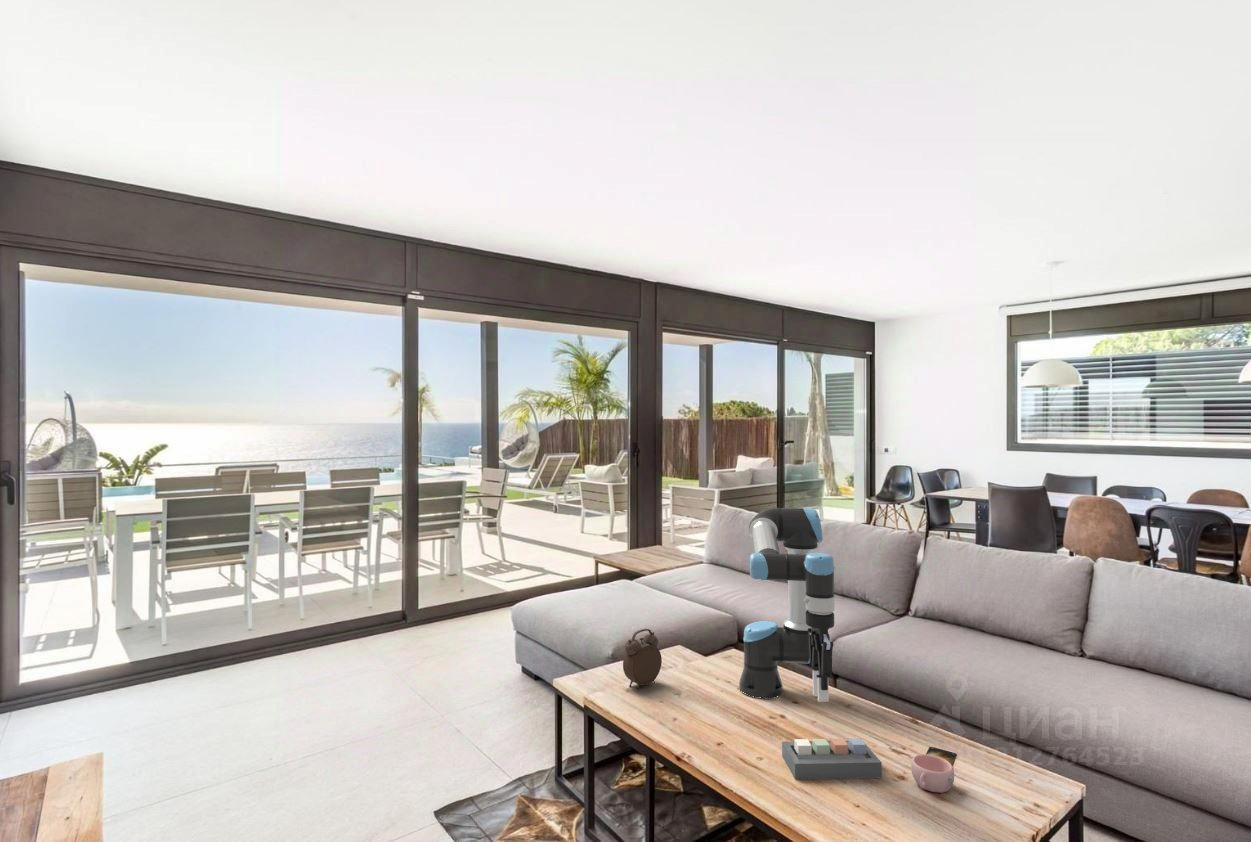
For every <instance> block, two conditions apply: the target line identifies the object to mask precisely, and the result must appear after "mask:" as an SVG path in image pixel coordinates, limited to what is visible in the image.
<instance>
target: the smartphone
mask: <svg viewBox="0 0 1251 842" xmlns="http://www.w3.org/2000/svg"><path fill="white" fill-rule="evenodd" d="M926 751H927V752H926V753H925V754H927V755H933V756H937V757H940V758H942V759H944V760H946V761H948V762H949V763H950V764H951V765H952V767H953V765H954V762H955V760H956V758H957V756H958V755H957V753H956V752H953V751H948V750H945V749H941V748H938V747H934V746H929V747H928V749H927V750H926Z"/></svg>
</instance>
